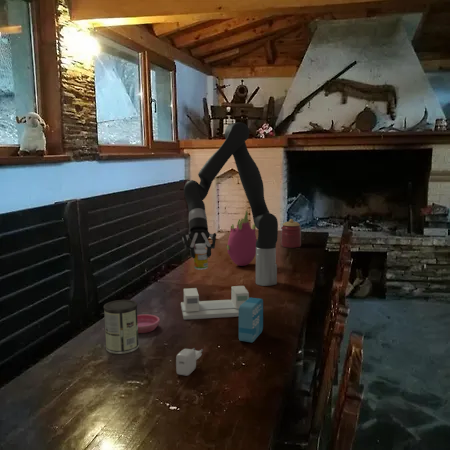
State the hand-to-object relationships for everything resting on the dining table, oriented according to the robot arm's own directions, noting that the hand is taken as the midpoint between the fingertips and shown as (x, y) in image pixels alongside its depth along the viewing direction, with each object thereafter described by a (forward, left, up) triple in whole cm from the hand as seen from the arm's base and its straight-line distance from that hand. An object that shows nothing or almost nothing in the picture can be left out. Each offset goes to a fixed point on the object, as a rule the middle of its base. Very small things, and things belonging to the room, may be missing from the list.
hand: (201, 256), depth 189 cm
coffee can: (+29, +36, -20) cm, 50 cm away
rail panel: (-5, +6, -20) cm, 22 cm away
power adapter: (+9, +54, -20) cm, 58 cm away
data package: (-13, +34, -20) cm, 41 cm away
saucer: (+23, +20, -21) cm, 37 cm away
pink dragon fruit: (-29, -64, -20) cm, 73 cm away
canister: (-70, -111, -20) cm, 133 cm away
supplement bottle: (0, -2, -5) cm, 6 cm away
